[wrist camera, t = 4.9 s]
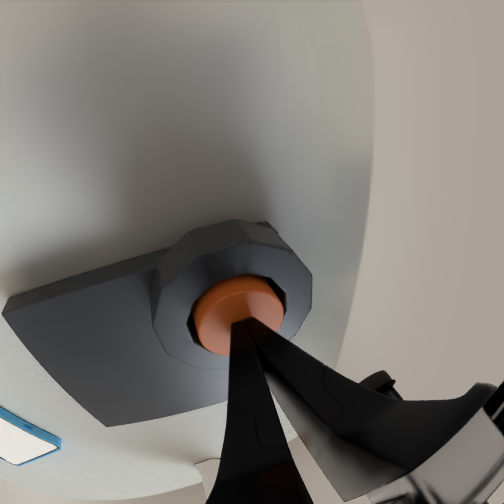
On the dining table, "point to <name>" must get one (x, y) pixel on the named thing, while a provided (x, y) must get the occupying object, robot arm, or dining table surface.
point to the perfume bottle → (208, 473)
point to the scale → (152, 322)
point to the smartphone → (24, 440)
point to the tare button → (234, 309)
